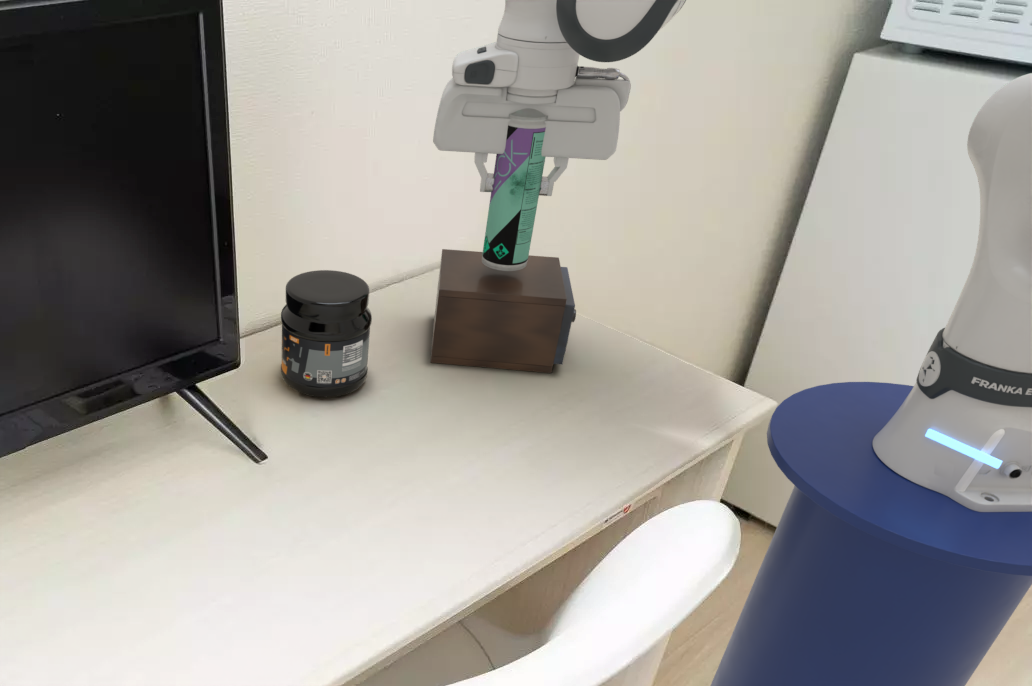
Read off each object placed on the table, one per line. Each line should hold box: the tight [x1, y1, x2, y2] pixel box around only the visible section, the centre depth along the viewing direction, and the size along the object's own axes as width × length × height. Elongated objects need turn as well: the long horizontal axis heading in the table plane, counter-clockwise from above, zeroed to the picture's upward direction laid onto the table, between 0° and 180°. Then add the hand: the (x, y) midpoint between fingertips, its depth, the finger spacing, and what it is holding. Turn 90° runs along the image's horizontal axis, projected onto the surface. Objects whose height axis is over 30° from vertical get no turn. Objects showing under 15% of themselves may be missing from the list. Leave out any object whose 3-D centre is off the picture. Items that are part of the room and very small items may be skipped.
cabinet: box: [430, 248, 567, 374], centre depth 117 cm, size 15×13×10 cm
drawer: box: [553, 266, 577, 366], centre depth 117 cm, size 15×12×8 cm
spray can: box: [482, 108, 548, 271], centre depth 108 cm, size 6×6×20 cm
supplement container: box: [280, 269, 373, 398], centre depth 109 cm, size 10×10×12 cm
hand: (514, 192), depth 108 cm, fingers closed on spray can, 5 cm apart
